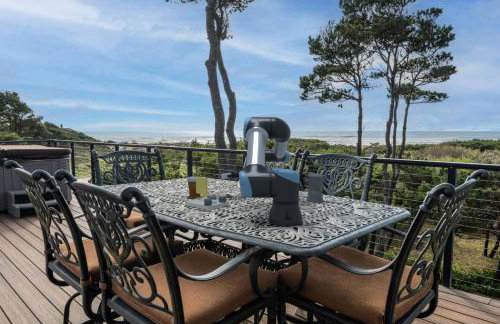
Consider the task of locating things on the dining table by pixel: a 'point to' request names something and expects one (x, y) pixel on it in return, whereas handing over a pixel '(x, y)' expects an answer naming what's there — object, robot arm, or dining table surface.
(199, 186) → the yellow flat slab
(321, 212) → the dining table surface
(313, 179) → the coffeepot
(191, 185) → the disposable coffee cup
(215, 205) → the base
